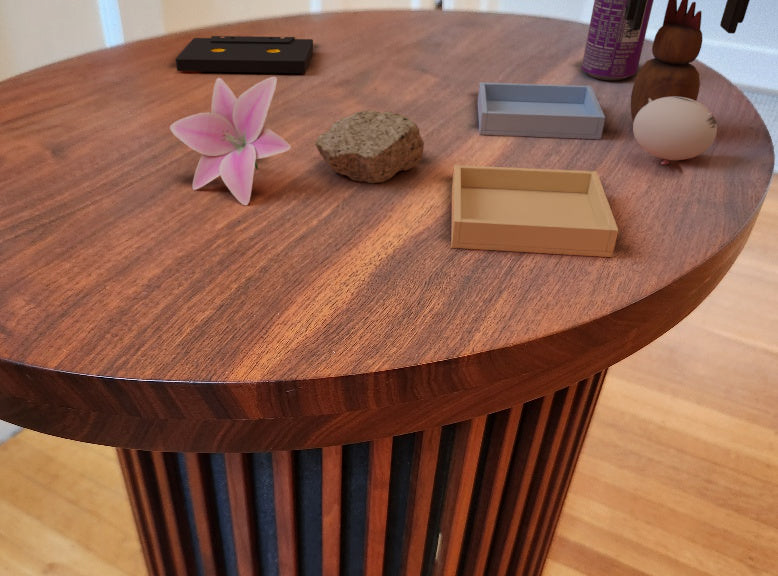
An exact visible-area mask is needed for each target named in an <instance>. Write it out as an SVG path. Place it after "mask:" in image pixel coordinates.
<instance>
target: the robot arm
mask: <svg viewBox="0 0 778 576" xmlns="http://www.w3.org/2000/svg"><path fill="white" fill-rule="evenodd" d="M646 2H647V0H627V5H626V9H625V15H624V19H625V20H628V26H629V27H630V28H631V30H632V31H638V29H640V27H641V23H642V19H643V15H644V10H645V6H646ZM749 4H750V0H726V3H725V7H724V10H723V13H722V16H721V20H720V25H719V26H720V28H722V29H723V30H724V31H725V32H726V33H727V34H735V33H736V31H737V28H738V26H739V24H742V23H743V22H744V20H745V17H746V14H747V10H748V6H749Z"/></svg>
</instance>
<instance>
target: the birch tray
mask: <svg viewBox="0 0 778 576" xmlns="http://www.w3.org/2000/svg"><path fill="white" fill-rule="evenodd" d="M450 230H451V231H450V232H451V234H450V235H451V236H450V237H451V238H450V239H451V240H450V247H451V249H467V250H468V249H469V250H483V251H499V252H500V251H501V252H517V253H532V254H533V253H534V254H549V255H550V254H551V255H565V256H566V255H568V256H585V257H602V258H612V257H613V255H614V250H615V247H616V243H617V238H618V235H619V227H618V225H617V222H616V219H615V217H614V214H613V211H612V208H611V206H610V203H609V200H608V197H607V195H606V192H605V189H604V186H603V184H602V181H601V178H600V176H599V173H598V171H597V170H578V169H577V170H575V169H555V168H554V169H552V168H549V169H548V168H530V167H529V168H528V167H509V166H508V167H507V166H487V165H485V166H484V165H465V164H463V165H462V164H454V165H453V176H452V185H451V229H450Z"/></svg>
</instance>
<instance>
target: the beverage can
mask: <svg viewBox="0 0 778 576" xmlns="http://www.w3.org/2000/svg"><path fill="white" fill-rule="evenodd" d="M654 1H655V0H647V2H646V6H645V10H644V15H643V19H642V23H641V27H640V29H638V31H632V30H631V28H630V27H629V26H628V20H625V19H624V15H625V9H626V5H627V0H593V7H592V11H591V15H590V22H589V26H588V33H587V37H586V42H585V46H584V47H585V48H584V51H583V52H584V53H583V58H582V63H581V70H582V71H583V72H585V73H587V74H588V76H590V77H591V78H594V79H597V80H601V81H621V80H625V79H627V78H629V77H631V76H634V75H635V74H636V75H637V74H638V69H639V66H640V65H639V64H640V60H641V55H642V52H643V46H644V43H645V39H646V35H647V30H648V26H649V22H650V18H651V13H652V10H653V5H654Z"/></svg>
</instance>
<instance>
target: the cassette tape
mask: <svg viewBox="0 0 778 576" xmlns="http://www.w3.org/2000/svg"><path fill="white" fill-rule="evenodd" d="M313 52H314V39H312V38H296V36H284V37H282V36H249V35H248V36H244V35H243V36H242V35H239V36H238V35H237V36H236V35H211V37H193V38H192V39H191V40H190V42H189V43H188V44H186V46H185V48H184V49H183V50H182V51H181V52H180V53H179V54H178V55H177V57H176V58H175V64H176V71H177V72H202V73H203V72H205V73H207V72H210V73H211V72H213V73H264V74H265V73H266V74H267V73H268V74H269V73H273V74H305V73H306V71H307V68H308V66H309V63H310V60H311V57H312V55H313V54H314V53H313Z"/></svg>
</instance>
